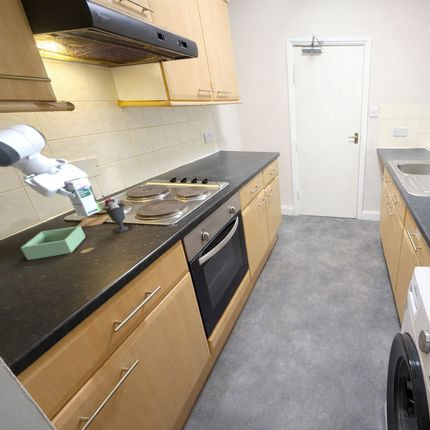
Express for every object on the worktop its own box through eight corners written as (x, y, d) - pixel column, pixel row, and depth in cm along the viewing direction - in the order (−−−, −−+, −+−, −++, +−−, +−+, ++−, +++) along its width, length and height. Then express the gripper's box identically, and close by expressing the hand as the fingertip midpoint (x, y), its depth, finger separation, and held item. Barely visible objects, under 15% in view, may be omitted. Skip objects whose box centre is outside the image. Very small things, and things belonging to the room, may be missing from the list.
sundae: (108, 233, 101) (93, 196, 95) (125, 225, 107) (111, 190, 100) (120, 235, 99) (105, 198, 93) (137, 227, 105) (124, 192, 98)
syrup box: (88, 216, 105) (72, 181, 99) (76, 215, 107) (60, 180, 100) (101, 210, 110) (87, 177, 104) (90, 209, 112) (76, 176, 105)
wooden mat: (75, 228, 105) (74, 227, 105) (84, 219, 112) (84, 218, 112) (102, 224, 108) (101, 224, 107) (109, 216, 115) (109, 215, 115)
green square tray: (28, 261, 85) (20, 247, 83) (47, 243, 94) (40, 231, 92) (71, 253, 88) (65, 240, 86) (86, 237, 98) (80, 225, 96)
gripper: (22, 172, 90) (67, 197, 95) (67, 158, 108) (102, 179, 113) (14, 185, 91) (58, 209, 96) (60, 169, 109) (94, 190, 115)
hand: (82, 193), depth 105 cm, fingers closed on syrup box, 7 cm apart
